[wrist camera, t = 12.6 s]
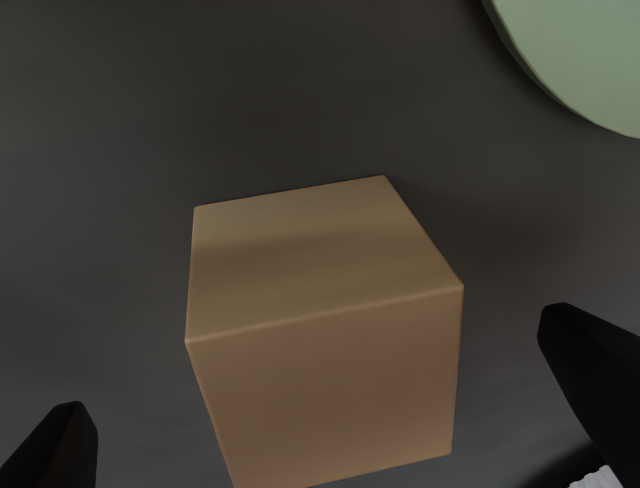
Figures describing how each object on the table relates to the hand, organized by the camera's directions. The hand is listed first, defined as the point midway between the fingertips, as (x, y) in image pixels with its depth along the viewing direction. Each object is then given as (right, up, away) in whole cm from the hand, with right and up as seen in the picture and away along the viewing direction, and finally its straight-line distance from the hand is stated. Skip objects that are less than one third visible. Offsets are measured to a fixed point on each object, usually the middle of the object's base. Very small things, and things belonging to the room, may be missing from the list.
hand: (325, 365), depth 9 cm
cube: (-1, +2, +3) cm, 3 cm away
